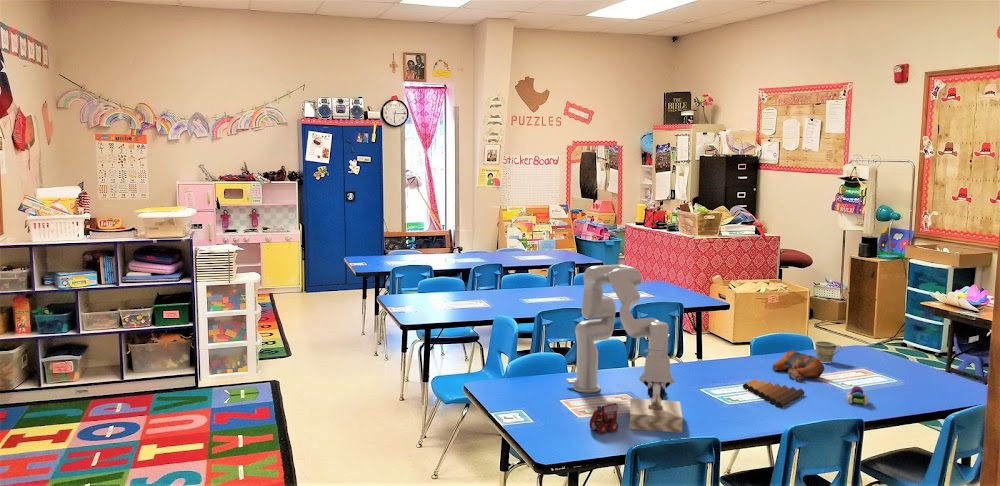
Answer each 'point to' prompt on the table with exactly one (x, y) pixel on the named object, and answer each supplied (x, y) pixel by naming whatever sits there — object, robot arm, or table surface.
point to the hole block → (655, 415)
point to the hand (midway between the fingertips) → (656, 397)
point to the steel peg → (656, 394)
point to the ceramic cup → (825, 351)
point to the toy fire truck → (604, 418)
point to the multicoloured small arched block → (857, 396)
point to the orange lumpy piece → (799, 365)
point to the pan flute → (773, 392)
